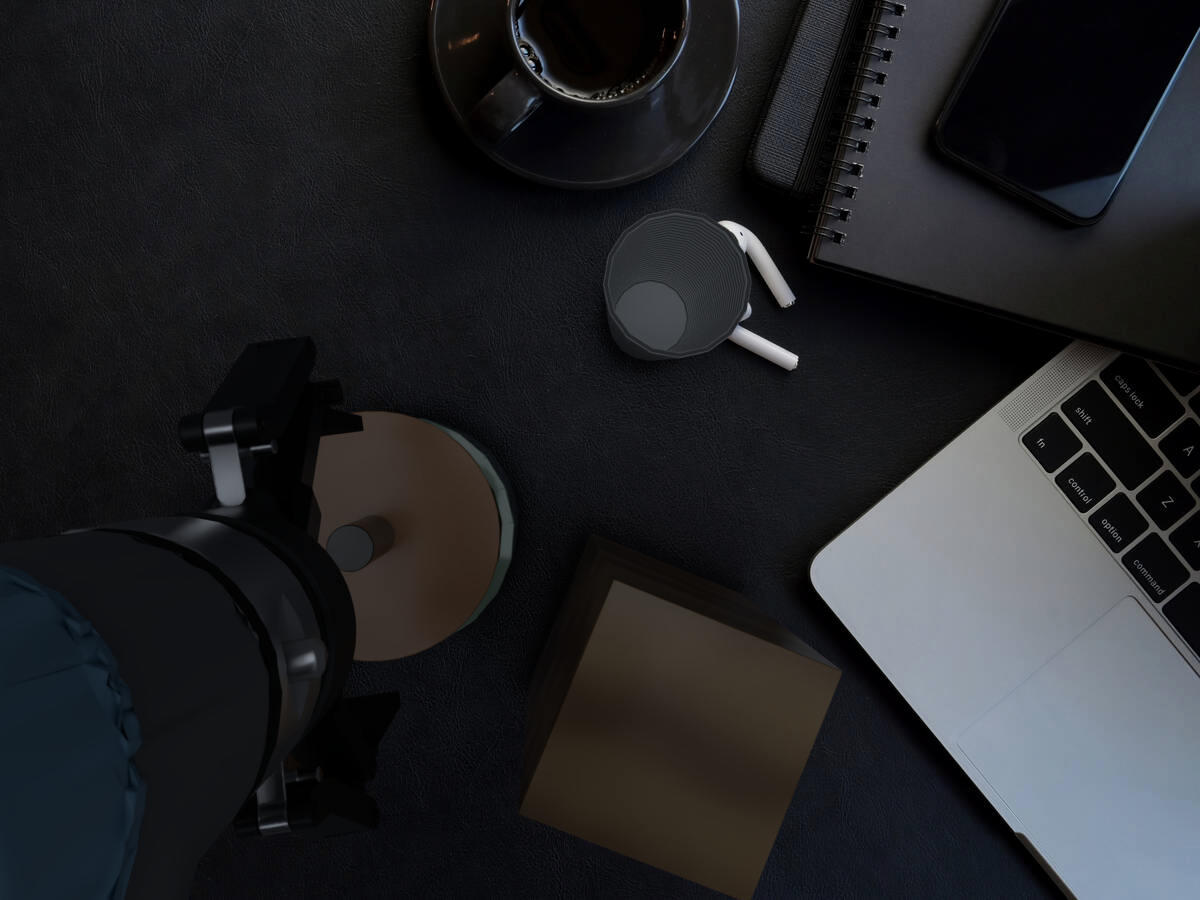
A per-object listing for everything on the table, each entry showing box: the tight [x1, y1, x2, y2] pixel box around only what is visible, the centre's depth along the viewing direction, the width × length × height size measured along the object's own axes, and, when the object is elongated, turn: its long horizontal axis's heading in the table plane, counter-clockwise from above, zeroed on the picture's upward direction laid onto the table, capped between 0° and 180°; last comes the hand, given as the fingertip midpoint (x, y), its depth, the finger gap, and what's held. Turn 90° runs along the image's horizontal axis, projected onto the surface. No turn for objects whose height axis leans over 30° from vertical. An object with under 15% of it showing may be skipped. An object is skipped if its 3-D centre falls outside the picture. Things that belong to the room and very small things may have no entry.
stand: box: [517, 532, 844, 900], centre depth 56 cm, size 12×12×24 cm
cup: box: [602, 208, 753, 362], centre depth 61 cm, size 8×8×16 cm
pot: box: [417, 417, 520, 641], centre depth 63 cm, size 15×15×9 cm
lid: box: [312, 410, 500, 662], centre depth 55 cm, size 16×16×8 cm
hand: (354, 564), depth 46 cm, fingers open, 13 cm apart
